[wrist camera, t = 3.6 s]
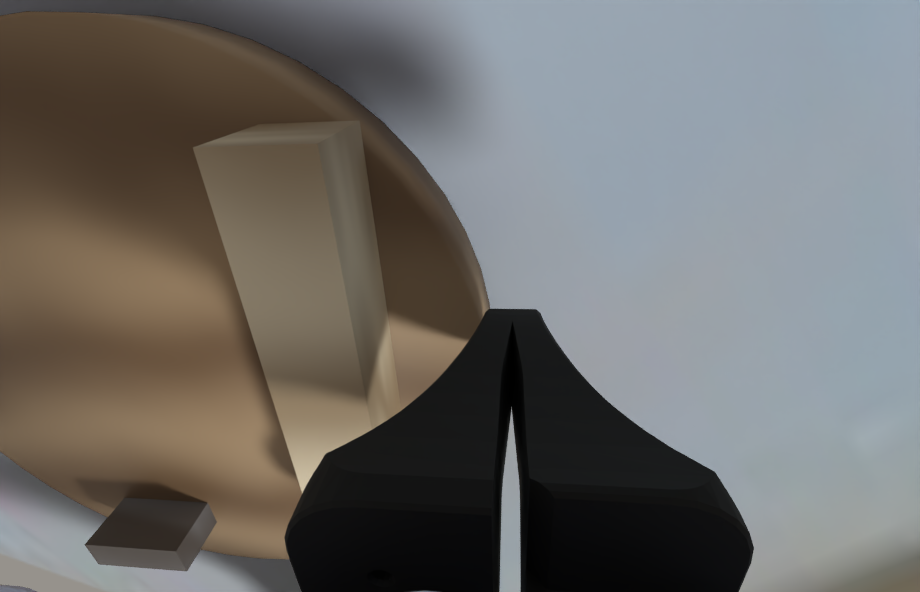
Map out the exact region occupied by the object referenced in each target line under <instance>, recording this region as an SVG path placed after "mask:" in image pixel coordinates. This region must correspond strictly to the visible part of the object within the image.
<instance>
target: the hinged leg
mask: <svg viewBox="0 0 920 592" xmlns="http://www.w3.org/2000/svg"><path fill="white" fill-rule="evenodd" d="M193 150H194V153H195V157H196V160H197V163H198V166H199V169H200V172H201V175H202V179H203V182H204V185H205V188H206V191H207V194H208V198H209V201H210V204H211V207H212V210H213V213H214V217H215V220H216V223H217V226H218V229H219V232H220V235H221V239H222V242H223V245H224V248H225V251H226V254H227V258H228V261H229V264H230V267H231V270H232V273H233V276H234V280H235V283H236V286H237V289H238V292H239V295H240V299H241V302H242V305H243V308H244V311H245V314H246V318H247V321H248V324H249V327H250V330H251V333H252V336H253V340H254V343H255V346H256V349H257V352H258V355H259V359H260V362H261V365H262V368H263V371H264V374H265V378H266V381H267V384H268V387H269V390H270V393H271V396H272V400H273V403H274V406H275V409H276V412H277V415H278V419H279V422H280V425H281V428H282V431H283V434H284V437H285V441H286V444H287V447H288V450H289V453H290V456H291V460H292V463H293V466H294V469H295V472H296V475H297V479H298V482H299V485H300V488H301V491H302V493H303V491H304V489H305V487H306V485H307V483H308V482H309V480H310V478H311V476H312V475H313V473H314V471H315V470H316V469H317V467H318V465H319V464H320V462H321V460H322V459H323V457H324V455H325V454H326V453H328V452H330V451H332V450H334V449H336V448H338V447H340V446H342V445H344V444H346V443H348V442H350V441H352V440H354V439H356V438H358V437H360V436H362V435H363V434H365V433H367V432H369V431H370V430H372V429H374V428H375V427H377V426H379V425H380V424H382V423H383V422H385V421H387V420H388V419H390V418H391V417H393V416H394V415H396V414H397V413H398V412H400V411H401V404H400V397H399V390H398V383H397V376H396V369H395V362H394V355H393V348H392V341H391V334H390V327H389V321H388V314H387V307H386V300H385V293H384V286H383V279H382V272H381V265H380V258H379V251H378V245H377V238H376V231H375V224H374V217H373V210H372V203H371V196H370V189H369V182H368V175H367V169H366V162H365V155H364V148H363V141H362V134H361V127H360V120H358V121H331V122H303V123H276V124H258V125H256V126H253V127H250V128H247V129H244V130H241V131H238V132H236V133H233V134H230V135H227V136H224V137H221V138H218V139H216V140H213V141H210V142H207V143H204V144H201V145H199V146H196V147H193Z"/></svg>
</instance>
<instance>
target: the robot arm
mask: <svg viewBox="0 0 920 592" xmlns="http://www.w3.org/2000/svg"><path fill="white" fill-rule="evenodd" d="M511 406H512V414H513V424H514V433H515V443H516V453H517V463H518V472H519V484H520V537H521V592H739V590H740V587H741V585H742V583H743V580H744V578H745V576H746V573H747V571H748V569H749V566H750V564H751V560H752V555H753V550H754V547H753V544H752V540H751V537H750V533H749V531H748V529H747V527H746V525H745V523H744V521H743V518H742V516H741V514H740V512H739V510H738V509H737V507H736V505H735V503H734V502H733V500H732V498H731V497H730V495H729V493H728V492H727V490H726V489H725V487H724V486H723V484H722V482H721V481H720V479H719V478H718V476H717V474H716V473H715V472H714V471H712V470H710V469H709V468H707V467H705V466H703V465H701V464H700V463H698V462H696V461H694V460H692V459H691V458H689V457H687V456H685V455H683V454H682V453H680V452H678V451H676V450H674V449H673V448H671V447H669V446H668V445H666V444H665V443H663V442H661V441H660V440H658V439H657V438H655V437H654V436H652V435H651V434H649V433H648V432H646V431H645V430H643V429H642V428H641V427H639V426H638V425H636V424H635V423H634V422H632V421H631V420H630V419H629V418H627V417H626V416H625V415H623V414H622V413H621V412H620V411H618V410H617V409H616V408H615V407H613V406H612V405H611V404H610V403H609V402H608V401H607V400H605V399H604V398H603V397H602V396H601V395H600V394H599V393H598V392H597V391H596V390H595V389H594V388H593V387H592V386H591V385H590V384H589V383H588V382H587V380H586V379H585V378H584V377H583V376H582V375H581V374H580V373H579V371H578V370H577V369H576V368H575V367H574V365H573V364H572V363H571V362H570V360H569V359H568V358H567V356H566V355H565V354H564V352H563V351H562V349H561V348H560V347H559V345H558V344H557V342H556V341H555V339H554V338H553V336H552V335H551V333H550V331H549V330H548V328H547V326H546V324H545V322H544V320H543V318H542V316H541V314H540V313H539V312H538V311H537V310H536V309H488V310H487V311H486V312H485V314H484V316H483V318H482V320H481V322H480V324H479V325H478V327H477V329H476V330H475V332H474V334H473V335H472V337H471V338H470V340H469V341H468V342H467V344H466V345H465V347H464V348H463V349H462V351H461V352H460V353H459V355H458V356H457V357H456V358H455V359H454V361H453V362H452V363H451V364H450V365H449V367H448V368H447V369H446V370H445V371H444V372H443V373H442V375H441V376H440V377H439V378H438V379H437V380H436V381H435V382H434V383H433V384H432V385H431V386H430V387H429V388H428V389H426V390H425V391H424V392H423V393H422V394H421V395H420V396H418V397H417V398H416V399H415V400H414V401H413V402H411V403H410V404H409V405H408V406H406V407H405V408H404V409H403V410H401V411H400V412H398V413H397V414H396V415H394V416H393V417H391V418H390V419H388V420H387V421H385V422H383V423H382V424H380V425H379V426H377V427H375V428H374V429H372V430H370V431H369V432H367V433H365V434H363V435H362V436H360V437H358V438H356V439H354V440H352V441H350V442H348V443H346V444H344V445H342V446H340V447H338V448H336V449H334V450H332V451H330V452H328V453H326V454H325V455H324V457H323V459H322V460H321V462H320V464H319V465H318V467H317V469H316V470H315V471H314V473H313V475H312V476H311V478H310V480H309V482H308V483H307V485H306V487H305V489H304V491H303V493H302V495H301V497H300V500H299V502H298V504H297V506H296V508H295V510H294V513H293V515H292V517H291V519H290V521H289V523H288V526H287V529H286V533H285V537H284V539H285V545H286V551H287V553H288V556H289V559H290V562H291V564H292V567H293V570H294V572H295V575H296V578H297V581H298V583H299V586H300V589H301V591H302V592H499V585H500V540H501V498H502V483H503V473H504V465H505V456H506V448H507V440H508V432H509V423H510V415H511ZM0 592H36V591H34V590H32V589H29V588H25V587H20V586H9V585H0Z"/></svg>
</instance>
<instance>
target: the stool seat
mask: <svg viewBox="0 0 920 592" xmlns="http://www.w3.org/2000/svg"><path fill="white" fill-rule="evenodd" d="M358 120H360V127H361V134H362V141H363V148H364V155H365V162H366V169H367V175H368V182H369V189H370V196H371V203H372V210H373V217H374V224H375V231H376V238H377V245H378V251H379V258H380V265H381V272H382V279H383V286H384V293H385V300H386V307H387V314H388V321H389V327H390V334H391V341H392V348H393V355H394V362H395V369H396V376H397V383H398V390H399V397H400V404H401V410H403V409H404V408H405V407H406V406H408V405H409V404H410V403H411V402H413V401H414V400H415V399H416V398H417V397H418V396H420V395H421V394H422V393H423V392H424V391H425V390H426V389H428V388H429V387H430V386H431V385H432V384H433V383H434V382H435V381H436V380H437V379H438V378H439V377H440V376H441V375H442V373H443V372H444V371H445V370H446V369H447V368H448V367H449V365H450V364H451V363H452V362H453V361H454V359H455V358H456V357H457V356H458V355H459V353H460V352H461V351H462V349H463V348H464V347H465V345H466V344H467V342H468V341H469V340H470V338H471V337H472V335H473V334H474V332H475V330H476V329H477V327H478V325H479V324H480V322H481V320H482V318H483V316H484V314H485V312H486V311H487V310H488V309H490V304H489V299H488V295H487V291H486V287H485V283H484V279H483V275H482V271H481V268H480V265H479V263H478V260H477V258H476V255H475V253H474V250H473V248H472V245H471V243H470V241H469V238H468V236H467V233H466V231H465V229H464V227H463V226H462V224H461V222H460V220H459V219H458V217H457V215H456V213H455V212H454V210H453V208H452V206H451V205H450V203H449V201H448V199H447V198H446V196H445V194H444V193H443V191H442V190H441V189H440V187H439V186H438V185H437V183H436V182H435V181H434V179H433V178H432V177H431V176H430V174H429V173H428V172H427V170H426V169H425V168H424V166H423V165H422V164H421V162H420V161H419V160H418V158H417V157H416V156H415V155H414V154H413V153H412V152H411V151H410V150H409V149H408V148H407V147H406V146H405V145H404V144H403V142H402V141H401V140H400V139H399V138H398V137H397V136H396V135H395V134H394V133H393V132H392V131H391V130H390V129H389V128H388V127H387V126H386V125H385V124H384V123H383V122H382V121H381V120H380V119H378V118H377V117H376V116H375V115H374V114H372V113H371V112H370V111H369V110H367V109H366V108H365V107H364V106H363V105H361V104H360V103H359V102H358V101H356V100H355V99H354V98H353V97H351V96H350V95H349V94H348V93H347V92H345V91H344V90H343V89H341V88H339V87H338V86H336V85H335V84H333V83H332V82H330V81H328V80H327V79H325V78H324V77H322V76H321V75H319V74H317V73H316V72H314V71H313V70H311V69H310V68H308V67H306V66H305V65H303V64H302V63H300V62H298V61H296V60H294V59H292V58H289V57H287V56H285V55H283V54H281V53H279V52H277V51H275V50H273V49H270V48H268V47H266V46H264V45H262V44H260V43H258V42H256V41H253V40H251V39H248V38H244V37H241V36H238V35H235V34H232V33H229V32H226V31H223V30H220V29H216V28H213V27H210V26H207V25H204V24H198V23H192V22H187V21H181V20H175V19H169V18H163V17H158V16H143V15H124V14H104V13H85V12H30V11H26V12H20V13H14V14H8V15H2V16H0V452H2V453H3V454H4V455H6V456H7V457H8V458H10V459H11V460H12V461H13V462H15V463H16V464H17V465H19V466H20V467H21V468H23V469H24V470H26V471H27V472H29V473H30V474H32V475H33V476H35V477H36V478H38V479H39V480H41V481H42V482H44V483H45V484H47V485H48V486H50V487H52V488H53V489H55V490H57V491H59V492H60V493H62V494H64V495H66V496H67V497H69V498H71V499H73V500H74V501H76V502H78V503H79V504H81V505H83V506H86V507H88V508H90V509H92V510H94V511H96V512H98V513H100V514H102V515H104V516H106V517H108V518H107V519H106V520H105V521H104V523H103V524H102V525H101V526H100V527H99V528H98V530H97V531H96V532H95V533H94V534H93V536H92V537H91V538H90V539H89V540H88V542H87V543H86V544H85V546H86V547H87V549H88V550H89V551H90V553H91V554H92V556H93V557H94V558H95V560H96V561H97V563H98V564H101V565H114V566H127V567H139V568H152V569H164V570H177V571H188V569H189V567H190V566H191V564H192V562H193V561H194V559H195V557H196V556H197V554H198V553H199V551H200V549H201V550H207V551H212V552H217V553H222V554H228V555H234V556H243V557H252V558H264V559H289V556H288V553H287V551H286V545H285V539H284V537H285V533H286V529H287V526H288V523H289V521H290V519H291V517H292V515H293V513H294V510H295V508H296V506H297V504H298V502H299V500H300V497H301V495H302V491H301V488H300V485H299V482H298V479H297V475H296V472H295V469H294V466H293V463H292V460H291V456H290V453H289V450H288V447H287V444H286V441H285V437H284V434H283V431H282V428H281V425H280V422H279V419H278V415H277V412H276V409H275V406H274V403H273V400H272V396H271V393H270V390H269V387H268V384H267V381H266V378H265V374H264V371H263V368H262V365H261V362H260V359H259V355H258V352H257V349H256V346H255V343H254V340H253V336H252V333H251V330H250V327H249V324H248V321H247V318H246V314H245V311H244V308H243V305H242V302H241V299H240V295H239V292H238V289H237V286H236V283H235V280H234V276H233V273H232V270H231V267H230V264H229V261H228V258H227V254H226V251H225V248H224V245H223V242H222V239H221V235H220V232H219V229H218V226H217V223H216V220H215V217H214V213H213V210H212V207H211V204H210V201H209V198H208V194H207V191H206V188H205V185H204V182H203V179H202V175H201V172H200V169H199V166H198V163H197V160H196V157H195V153H194V150H193V147H196V146H199V145H201V144H204V143H207V142H210V141H213V140H216V139H218V138H221V137H224V136H227V135H230V134H233V133H236V132H238V131H241V130H244V129H247V128H250V127H253V126H256V125H258V124H276V123H303V122H331V121H358Z"/></svg>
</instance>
